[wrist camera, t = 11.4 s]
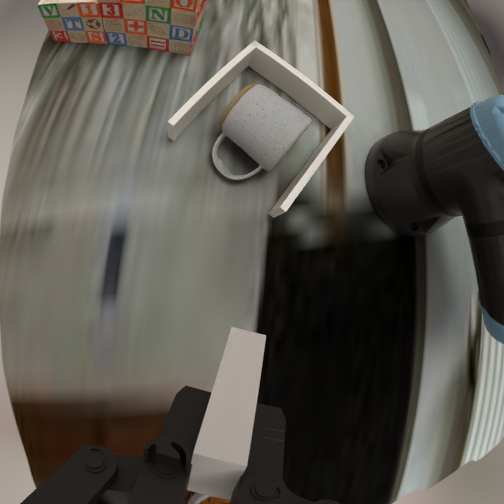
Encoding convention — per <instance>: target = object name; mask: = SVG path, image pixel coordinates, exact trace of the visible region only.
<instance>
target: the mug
mask: <svg viewBox="0 0 504 504" xmlns="http://www.w3.org/2000/svg"><path fill="white" fill-rule="evenodd" d="M230 502H231V499H230V500H226V499H221V498H217V497H212V496H208V495H204V494H200V493H196V492H192V493H191V494H190V497H189V498H188V501H187V504H230Z"/></svg>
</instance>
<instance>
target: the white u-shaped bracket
mask: <svg viewBox="0 0 504 504" xmlns="http://www.w3.org/2000/svg"><path fill="white" fill-rule="evenodd" d="M248 66H249V67H250V68H252V69H253V70H254V71H256V72H257V73H259V74H260V75H262V76H263V77H264V78H266V79H267V80H269V81H270V82H271V83H273V84H274V85H275V86H277V87H278V88H279V89H281V90H282V91H283V92H285V93H286V94H287V95H289V96H290V97H291V98H293V99H294V100H295V101H296V102H298V103H299V104H300V105H302V106H303V107H304V108H305V109H307V110H308V111H309V112H310V113H312V114H313V115H314V116H315V117H316V118H318V119H319V120H320V121H321V122H322V123H324V124H325V125H326V126H327V127H328V128H330V129H331V130H330V131H329V133H328V134H327V135H326V137H325V138H324V139H323V141H322V142H321V143H320V145H319V146H318V147H317V149H316V150H315V151H314V153H313V154H312V156H311V157H310V158H309V160H308V161H307V162H306V164H305V165H304V166H303V168H302V169H301V170H300V172H299V173H298V174H297V176H296V177H295V178H294V180H293V181H292V182H291V184H290V185H289V186H288V188H287V189H286V190H285V192H284V193H283V194H282V196H281V197H280V198H279V200H278V201H277V203H276V204H275V205H274V207H273V208H272V209H271V211H270V212H269V213H268V214H269V215H270V216H272V217H273V218H275V217H277V216H279V215H281V214H283V213H285V212H286V211H287V210H288V208H289V207H290V206H291V204H292V203H293V202H294V200H295V199H296V197H297V196H298V195H299V193H300V192H301V190H302V189H303V188H304V186H305V185H306V184H307V182H308V181H309V179H310V178H311V177H312V175H313V174H314V172H315V171H316V170H317V168H318V167H319V165H320V164H321V163H322V161H323V160H324V159H325V157H326V156H327V154H328V153H329V152H330V150H331V149H332V147H333V146H334V145H335V143H336V142H337V140H338V139H339V138H340V136H341V135H342V133H343V132H344V131H345V129H346V128H347V126H348V125H349V124H350V122H351V121H352V120H353V118H354V116H353V115H352V114H350V113H349V112H348V111H347V110H346V109H345V108H344V107H342V106H341V105H340V104H339V103H338V102H337V101H335V100H334V99H333V98H332V97H331V96H329V95H328V94H327V93H326V92H324V91H323V90H322V89H321V88H319V87H318V86H317V85H316V84H314V83H313V82H312V81H311V80H309V79H308V78H307V77H305V76H304V75H303V74H301V73H300V72H299V71H297V70H296V69H295V68H293V67H292V66H291V65H289V64H288V63H287V62H285V61H284V60H282V59H281V58H280V57H278V56H277V55H275V54H274V53H272V52H271V51H269V50H268V49H267V48H265V47H264V46H262V45H261V44H259V43H258V42H256V41H254V42H252V43H251V44H250V45H249V46H248V47H246V48H245V49H244V50H243V51H242V52H240V53H239V54H238V55H237V56H236V57H235V58H233V59H232V60H231V61H230V62H229V63H228V64H227V65H226V66H224V67H223V68H222V69H221V70H220V71H219V72H218V73H217V74H216V75H215V76H213V77H212V78H211V79H210V80H209V81H208V82H207V83H206V84H205V85H204V86H203V87H202V88H201V89H200V90H199V91H198V92H197V93H196V94H194V95H193V96H192V97H191V98H190V99H189V100H188V101H187V102H186V103H185V104H184V105H183V106H182V107H181V108H180V109H179V111H178V112H177V113H176V114H175V115H174V116H173V117H172V118H171V119H170V120H169V121H168V136H169V138H170V139H171V140H173V141H174V140H175V139H176V138H177V137H178V136H179V135H180V134H181V133H182V132H183V131H184V129H185V128H186V127H187V126H188V125H189V124H190V123H191V122H192V121H193V120H194V119H195V118H196V117H197V116H198V115H199V114H200V113H201V111H202V110H203V109H204V108H205V107H206V106H207V105H208V104H209V103H210V102H211V101H212V100H213V99H214V98H215V97H216V96H217V95H218V94H219V93H220V92H221V91H222V90H223V89H224V88H225V87H227V86H228V85H229V84H230V83H231V82H232V81H233V80H234V79H235V78H236V77H237V76H238V75H239V74H240V73H241V72H242V71H243V70H245V69H246V68H247V67H248Z"/></svg>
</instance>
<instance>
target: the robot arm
mask: <svg viewBox="0 0 504 504" xmlns="http://www.w3.org/2000/svg"><path fill="white" fill-rule="evenodd" d="M366 185H367V190H368V193H369V196H370V199H371V202H372V204H373V206H374V208H375V210H376V212H377V213H378V215H379V216H380V217H381V219H382V220H383V221H384V222H385V223H386V224H387V225H388V226H389V227H390V228H391V229H393V230H394V231H396V232H398V233H400V234H402V235H406V236H420V235H426V234H429V233H432V232H434V231H436V230H437V229H438V228H440V227H441V226H443V225H444V224H446V223H447V222H449V221H450V220H451V219H453V218H454V217H457V216H462V215H463V219H464V223H465V226H466V230H467V235H468V239H469V243H470V247H471V252H472V256H473V261H474V266H475V271H476V277H477V282H478V288H479V291H478V300H479V303H480V307H481V309H482V314H483V320H484V324H485V326H486V329H487V330H488V332H489V333H490V334H491V336H492V337H494V338H495V339H496V340H497V341H499V342H501V343H503V344H504V95H498V96H495V97H492V98H490V99H487V100H485V101H479V102H476V103H474V104H473V105H472V106H471V107H469V108H467V109H465V110H463V111H462V112H460V113H458V114H456V115H454V116H452V117H450V118H448V119H446V120H444V121H442V122H440V123H438V124H436V125H434V126H432V127H430V128H428V129H426V130H418V131H399V132H395V133H392V134H389V135H387V136H386V137H384V138H382V139H381V140H379V141H378V142H377V143H376V144H375V145H374V146H373V148H372V149H371V151H370V153H369V155H368V158H367V163H366ZM265 340H266V335H262V334H258V333H254V332H250V331H246V330H242V329H238V328H234V327H232V328H231V331H230V334H229V338H228V341H227V344H226V347H225V351H224V354H223V357H222V361H221V364H220V367H219V370H218V374H217V377H216V380H215V383H214V387H213V390H212V393H211V392H207V391H203V390H200V389H196V388H193V387H189V386H185V387H184V388H183V389H181V390H180V391H179V392H178V393H177V394H176V396H175V399H174V401H173V403H172V406H171V408H170V410H169V413H168V415H167V418H166V420H165V422H164V425H163V427H162V430H161V432H160V434H159V437H158V438H154V439H153V440H151V441H149V442H148V443H147V444H146V445H145V447H144V455H142V456H138V457H127V456H117V455H113V454H112V453H111V452H110V451H109V450H108V449H106V448H104V447H102V446H100V445H93V444H91V445H86V446H83V447H81V448H80V449H78V450H77V451H76V452H75V453H74V454H73V455H72V456H71V457H70V458H69V459H68V460H67V461H65V462H64V463H63V464H62V465H61V466H60V467H59V468H58V469H57V470H56V471H55V472H54V473H53V474H52V475H51V476H50V477H48V478H47V479H46V480H45V481H44V482H43V483H42V484H41V485H40V486H39V487H38V488H37V489H36V490H35V491H34V492H33V493H31V494H30V495H29V496H28V497H27V498H26V499H25V500H24V501H23V502H22V503H20V504H183V502H184V497H185V494H186V491H187V490H189V491H192V492H196V493H200V494H204V495H208V496H212V497H217V498H221V499H226V500H230V499H231V502H230V504H339V503H338V502H335V501H333V500H320V501H317V502H315V503H314V502H311V501H309V500H306V499H304V498H301V497H299V496H297V495H295V494H293V493H292V492H291V491H290V490H288V488H287V487H286V485H285V484H284V481H283V476H282V472H283V457H284V440H285V423H286V419H285V417H284V414H283V412H282V410H281V408H278V407H273V406H268V405H263V404H259V403H257V397H258V391H259V384H260V376H261V369H262V362H263V355H264V347H265Z"/></svg>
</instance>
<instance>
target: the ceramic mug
mask: <svg viewBox="0 0 504 504" xmlns="http://www.w3.org/2000/svg"><path fill="white" fill-rule="evenodd" d="M311 123H312V120H311V119H310V118H309V117H308V116H306V115H305V114H304V113H302V112H301V111H300V110H298V109H297V108H296V107H294V106H293V105H292V104H290V103H289V102H287V101H286V100H284V99H283V98H282V97H280V96H279V95H277V94H276V93H275V92H273V91H272V90H270V89H269V88H267V87H265V86H263V85H261V84H258V83H252V84H250V85H248V86H246V87H245V88H243V89H242V90H241V91H240V92H239V93H238V94H237V95H236V96H235V97H234V99H233V100H232V101H231V102H230V104H229V105H228V106H227V108H226V109H225V111H224V112H223V114H222V116H221V119H220V128H221V129H222V134H221V135H220V136H219V137H218V139H217V140H216V142H215V144H214V147H213V150H212V159H213V162H214V165H215V166H216V168H217V169H218V171H219V172H220V173H221V174H222V175H223V176H225V177H226V178H229V179H232V180H242V179H246V178H249V177H251V176H253V175H254V174H256V173H257V172H259V171H260V170H261V169H263V168H264V169H265V170H266V171H268V172H269V171H270V170H271V169H272V168H273V167H274V166H275V165H276V164H277V162H278V161H279V160H280V159H281V158H282V157H283V156H284V155H285V153H286V152H287V151H288V150H289V149H290V148H291V146H292V145H293V144H294V143H295V142H296V141H297V140H298V138H299V137H300V136H301V135H302V134H303V133H304V131H305V130H306V129H307V128H308V126H309V125H310V124H311ZM226 136H227V137H229V138H230V139H231V140H232V141H233V142H234V143H235V144H237V145H238V146H239V147H241V148H242V149H243V150H244V151H245V152H246V153H247V154H248V155H249V156H250V157H251V158H252V159H254V160H255V161H256V162H257V163H258V164H259V167H258V168H257V169H255V170H254V171H252V172H250V173H248V174H246V175H240V176H237V175H236V176H235V175H233V174H232V173H231V172H230V171H228V170H227V169H226V167H225V166H224V165H223V164H222V161H221V160H220V159H219V158H218V156H217V155H218V148H219V146H220V144H221V142H222V141H223V139H224V138H225V137H226Z"/></svg>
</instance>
